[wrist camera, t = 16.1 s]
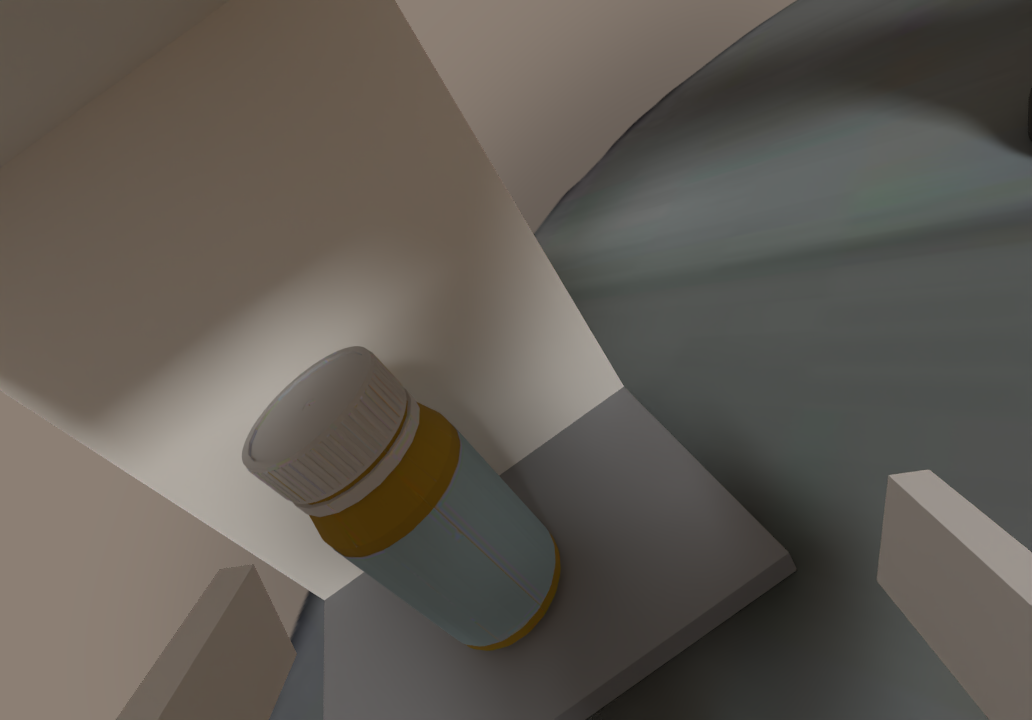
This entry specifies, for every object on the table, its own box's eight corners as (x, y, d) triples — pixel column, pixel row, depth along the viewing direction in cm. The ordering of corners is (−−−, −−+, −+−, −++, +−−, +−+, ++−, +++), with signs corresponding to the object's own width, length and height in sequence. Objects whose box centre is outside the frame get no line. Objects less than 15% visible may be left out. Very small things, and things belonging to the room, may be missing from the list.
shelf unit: (339, 592, 37) (-177, 244, 21) (621, 390, 36) (317, -118, 20) (346, 888, 23) (-1134, 539, 7) (796, 569, 23) (296, -523, 7)
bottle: (589, 545, 27) (412, 338, 19) (520, 683, 24) (274, 501, 16) (498, 512, 32) (327, 337, 24) (430, 622, 29) (209, 461, 21)
